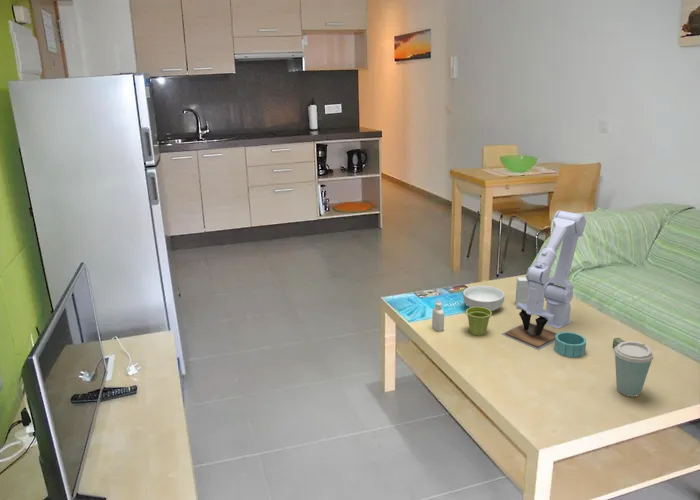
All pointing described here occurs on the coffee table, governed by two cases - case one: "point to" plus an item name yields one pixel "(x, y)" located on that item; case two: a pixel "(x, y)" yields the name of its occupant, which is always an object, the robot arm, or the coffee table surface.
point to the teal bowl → (570, 344)
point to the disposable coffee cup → (632, 366)
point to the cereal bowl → (483, 297)
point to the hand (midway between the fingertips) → (532, 332)
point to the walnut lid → (532, 335)
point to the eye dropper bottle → (438, 317)
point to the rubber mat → (528, 344)
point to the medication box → (617, 342)
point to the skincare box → (521, 290)
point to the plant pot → (478, 320)
